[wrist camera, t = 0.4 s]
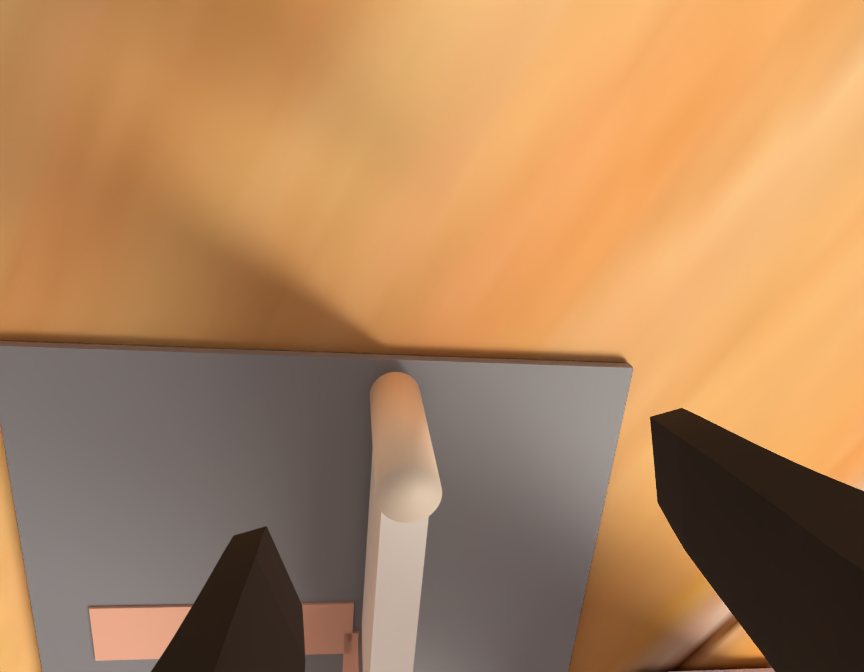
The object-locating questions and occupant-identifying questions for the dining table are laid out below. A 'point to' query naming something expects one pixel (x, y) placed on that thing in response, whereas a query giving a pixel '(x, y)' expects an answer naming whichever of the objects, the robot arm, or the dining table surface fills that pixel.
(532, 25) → the dining table surface
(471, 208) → the dining table surface
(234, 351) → the card
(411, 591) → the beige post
